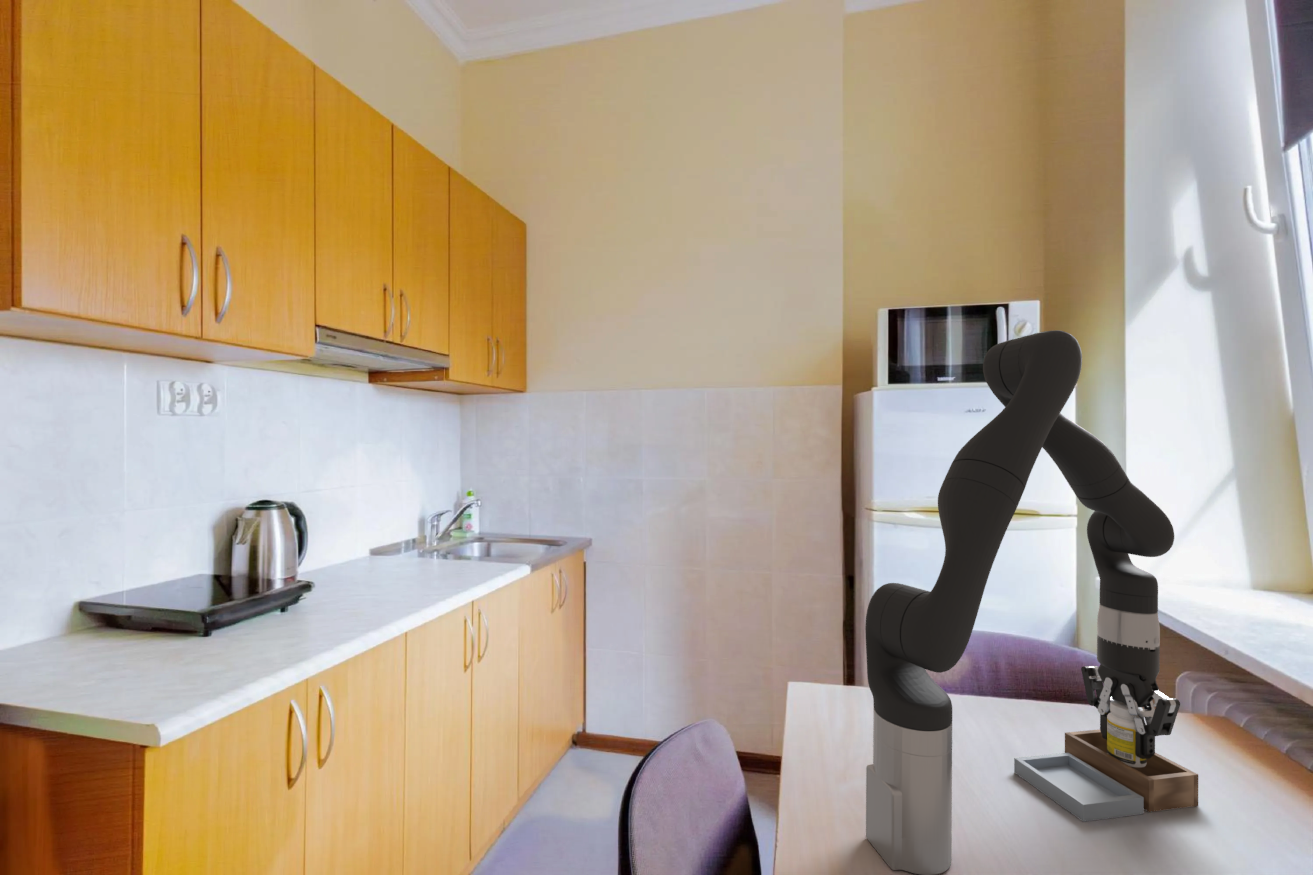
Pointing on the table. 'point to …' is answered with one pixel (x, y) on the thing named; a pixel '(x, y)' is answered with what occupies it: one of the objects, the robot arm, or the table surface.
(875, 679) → the robot arm
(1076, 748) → the caddy
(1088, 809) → the tray
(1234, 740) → the table surface
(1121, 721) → the supplement bottle
